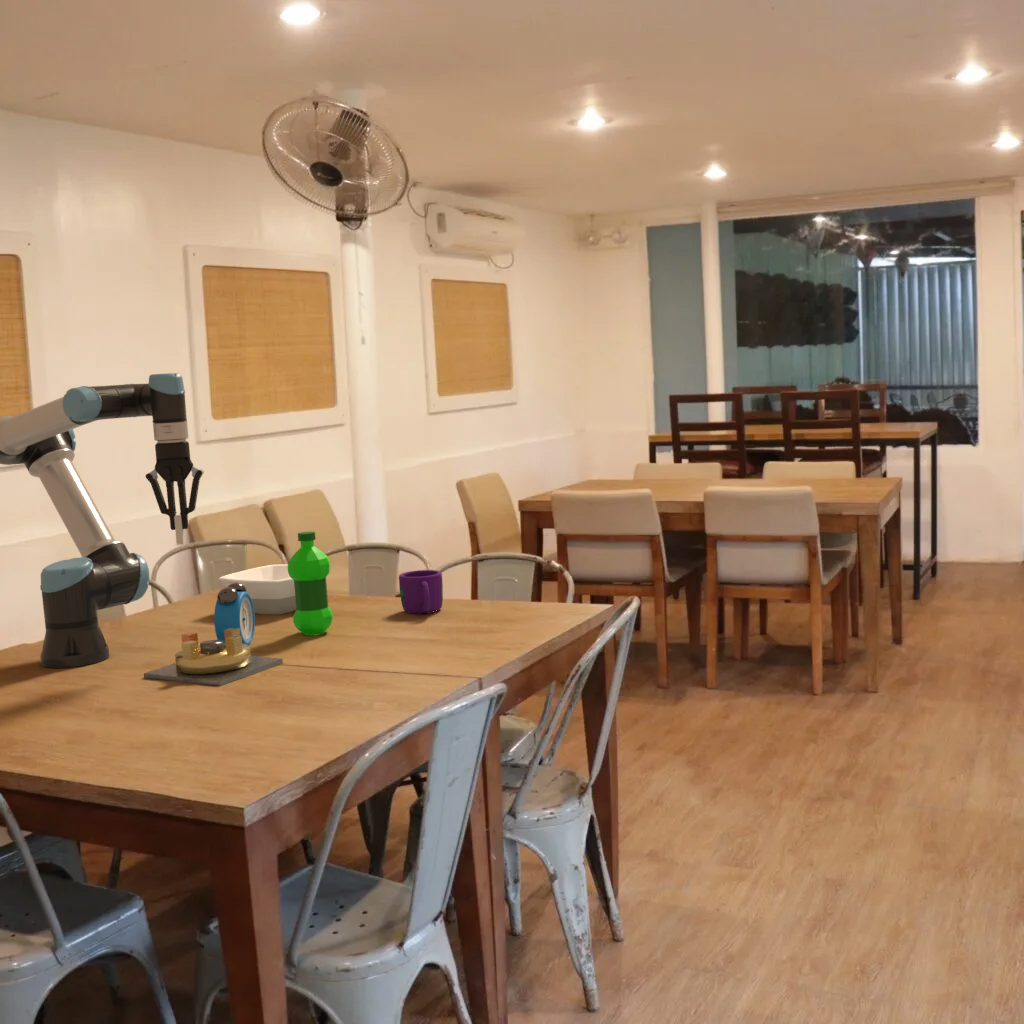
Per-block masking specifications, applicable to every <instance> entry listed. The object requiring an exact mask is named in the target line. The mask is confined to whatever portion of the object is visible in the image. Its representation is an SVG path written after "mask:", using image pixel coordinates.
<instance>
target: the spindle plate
mask: <svg viewBox="0 0 1024 1024" xmlns="http://www.w3.org/2000/svg"><path fill="white" fill-rule="evenodd" d="M250 656H251V662H250V663H249V664H247V665H245V666H243V667H240V668H237V669H233V670H229V671H224V672H217V673H207V674H188V673H181V672H179V671H177V670H176V662H173V663H172V664H171V663H170V664H169V665H165V666H162V667H159V668H156V669H153V670H150V671H147V672H144V673H143V678H144V679H151V680H152V679H153V680H159V681H160V680H161V681H171V682H178V683H179V682H181V683H191V684H201V685H208V686H209V685H210V686H218V687H219V686H223V685H226V684H229V683H232V682H234V681H237V680H239V679H242V678H245V677H248V676H251V675H254V674H257V673H259V672H262V671H265V670H267V669H270V668H272V667H275V666H278V665H281V664H283V660H284V659H283V658H280V657H270V656H269V657H267V656H255V655H250Z"/></svg>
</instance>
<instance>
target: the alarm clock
mask: <svg viewBox="0 0 1024 1024" xmlns="http://www.w3.org/2000/svg"><path fill="white" fill-rule="evenodd" d="M213 616H214V620H213V622H214V623H213V624H214V631H215V637H216V640H223V642H224V643H225V636H224V630H226V629H229V628H240V636H241V637H242V644H246V645H248V646H249V647H250V645H251V643H252V642H253V639H254V634H255V628H256V627H255V623H256V622H255V621H256V620H255V618H256V617H255V613H254V607H253V602H252V599H251V597H250V595H249V594H248V593H247V590H246V587H245V586H244V585H242V584H240V583H237V582H236V583H232V584H230V585H228V586H227V587H226V586H225V587H223V588H222V589H220V590H219V591H218V592H217V595H216V603H215V606H214V615H213Z"/></svg>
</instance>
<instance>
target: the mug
mask: <svg viewBox="0 0 1024 1024" xmlns="http://www.w3.org/2000/svg"><path fill="white" fill-rule="evenodd" d="M398 582H399V583H398V584H399V592H400V593H399V595H400V601H401V606H402V609H403V611H404V612H406V613H407V614H410V613H411V614H413V615H422V614H421V613H426V614H430V613H429V612H432V613H434V612H433V611H436V610H438V611H440V610H441V609H442V606H443V601H444V596H443V593H444V591H443V587H444V586H443V585H444V584H443V574H442V571H439V570H434V569H422V570H421V569H419V570H411V571H406V572H403V573H400V574H399V575H398ZM440 608H441V609H440ZM436 612H437V611H436Z"/></svg>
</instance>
